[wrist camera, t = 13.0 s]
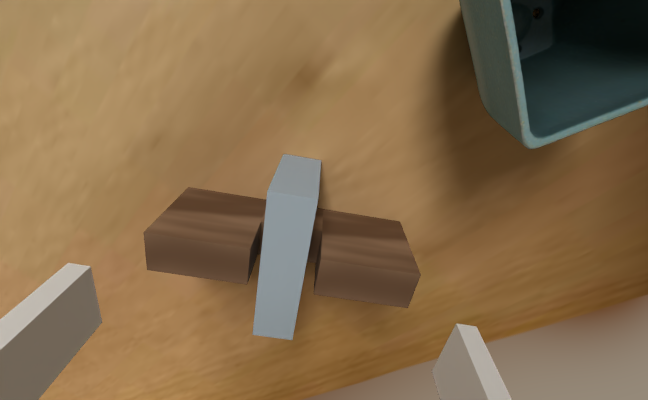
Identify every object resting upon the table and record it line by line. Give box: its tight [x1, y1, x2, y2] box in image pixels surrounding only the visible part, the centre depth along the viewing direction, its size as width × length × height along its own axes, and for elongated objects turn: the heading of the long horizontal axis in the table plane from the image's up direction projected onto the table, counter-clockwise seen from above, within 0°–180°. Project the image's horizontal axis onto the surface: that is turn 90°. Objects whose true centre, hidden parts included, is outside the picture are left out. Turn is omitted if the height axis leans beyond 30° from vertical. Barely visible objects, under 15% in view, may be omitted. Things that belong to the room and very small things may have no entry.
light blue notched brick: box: [253, 154, 321, 340], centre depth 24 cm, size 12×3×7 cm, turn 170°
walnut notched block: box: [144, 187, 421, 308], centre depth 24 cm, size 3×18×7 cm, turn 80°
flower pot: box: [459, 0, 648, 149], centre depth 17 cm, size 9×9×9 cm
